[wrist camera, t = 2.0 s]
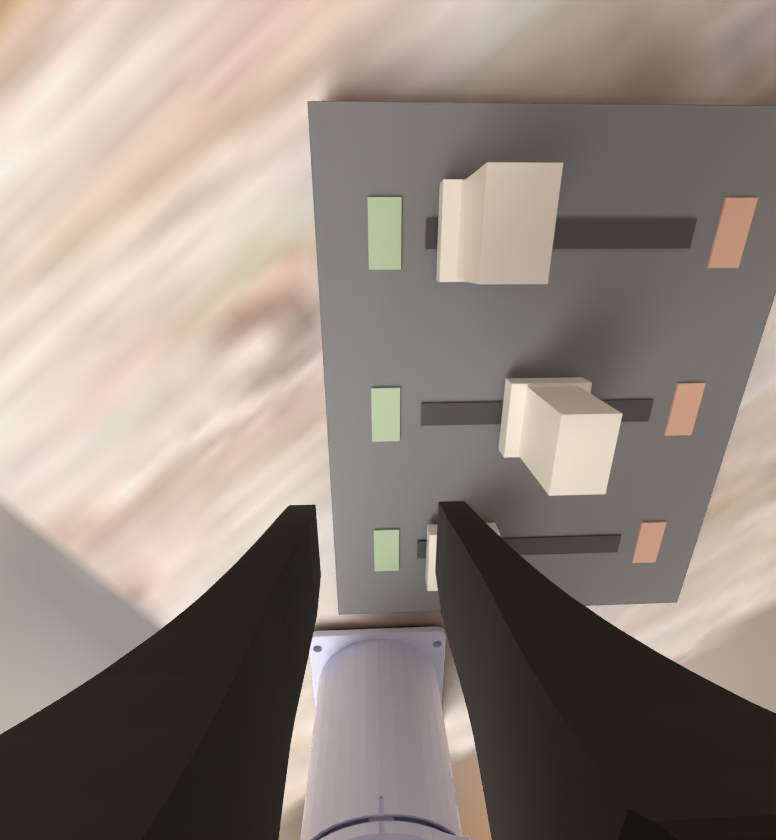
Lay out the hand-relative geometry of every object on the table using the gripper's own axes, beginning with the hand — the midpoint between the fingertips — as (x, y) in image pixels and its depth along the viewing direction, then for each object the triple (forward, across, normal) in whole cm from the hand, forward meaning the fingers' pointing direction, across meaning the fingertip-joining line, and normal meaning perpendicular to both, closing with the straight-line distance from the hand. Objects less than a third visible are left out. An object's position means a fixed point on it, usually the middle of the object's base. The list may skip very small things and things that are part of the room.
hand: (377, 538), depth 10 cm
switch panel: (+10, -7, 0) cm, 13 cm away
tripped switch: (+8, -7, 0) cm, 11 cm away
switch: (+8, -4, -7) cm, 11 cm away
